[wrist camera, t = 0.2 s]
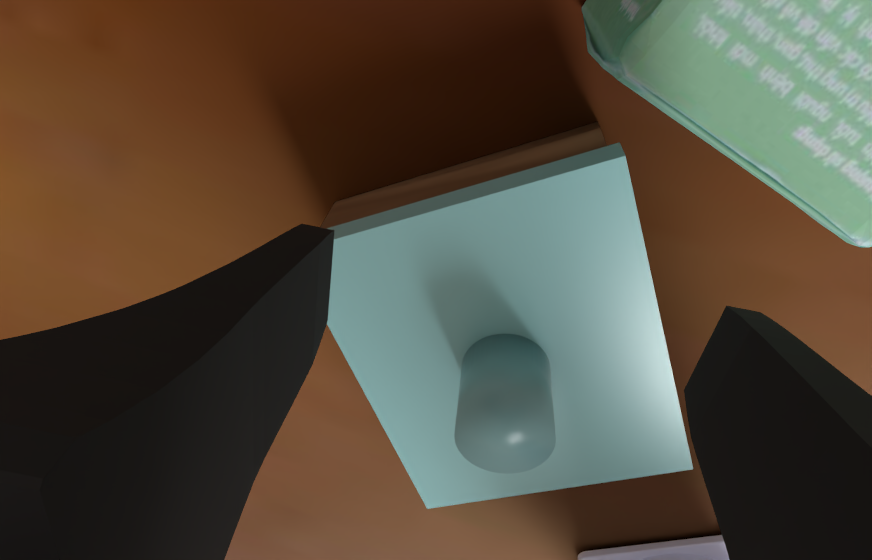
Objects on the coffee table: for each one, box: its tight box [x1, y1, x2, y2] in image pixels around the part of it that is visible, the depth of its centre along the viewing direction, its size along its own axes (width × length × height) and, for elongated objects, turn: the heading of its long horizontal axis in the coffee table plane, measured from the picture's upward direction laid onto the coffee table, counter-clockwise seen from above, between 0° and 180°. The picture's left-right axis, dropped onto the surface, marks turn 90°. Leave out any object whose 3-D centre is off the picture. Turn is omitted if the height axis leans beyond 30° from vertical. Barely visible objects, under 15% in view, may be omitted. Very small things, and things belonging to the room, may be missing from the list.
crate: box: [320, 122, 607, 229], centre depth 22 cm, size 11×9×3 cm
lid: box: [327, 142, 693, 509], centre depth 19 cm, size 12×10×4 cm
